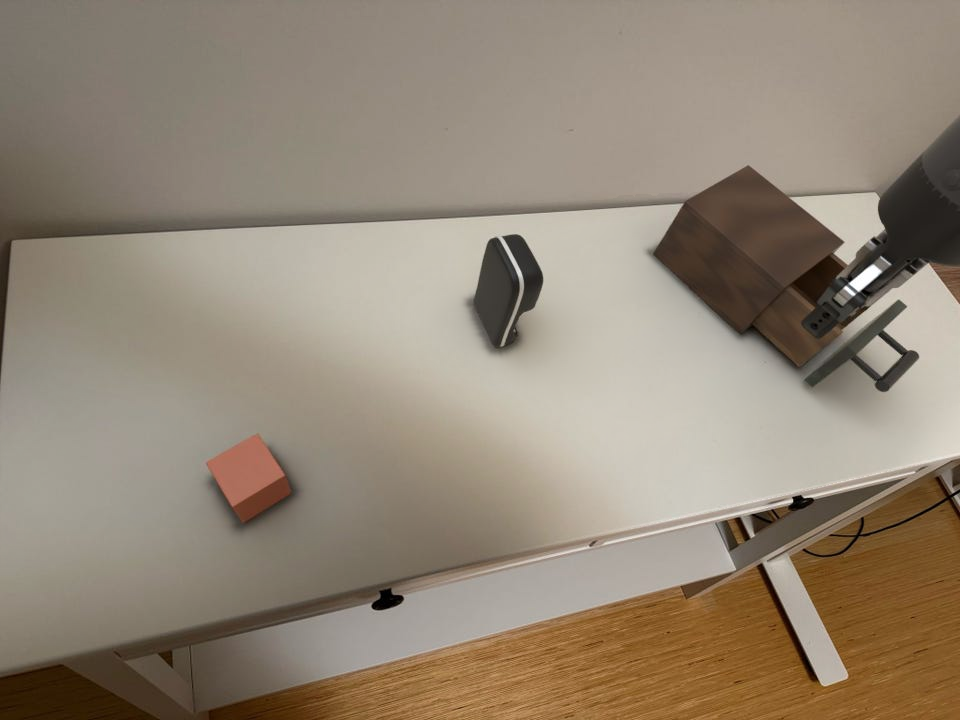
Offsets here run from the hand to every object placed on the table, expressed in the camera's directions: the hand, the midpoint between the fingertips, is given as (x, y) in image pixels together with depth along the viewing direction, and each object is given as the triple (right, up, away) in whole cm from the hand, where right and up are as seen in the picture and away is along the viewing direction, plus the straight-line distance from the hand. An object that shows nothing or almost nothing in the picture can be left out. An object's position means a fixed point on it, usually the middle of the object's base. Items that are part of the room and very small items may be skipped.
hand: (813, 328), depth 53 cm
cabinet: (+1, +8, +22) cm, 24 cm away
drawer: (+9, 0, +17) cm, 20 cm away
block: (-50, -14, -1) cm, 52 cm away
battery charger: (-28, +1, +13) cm, 31 cm away
